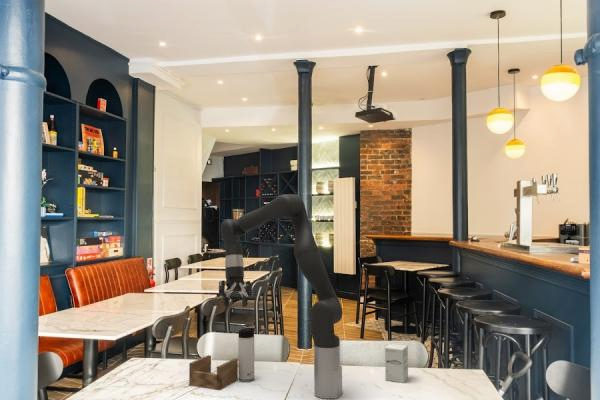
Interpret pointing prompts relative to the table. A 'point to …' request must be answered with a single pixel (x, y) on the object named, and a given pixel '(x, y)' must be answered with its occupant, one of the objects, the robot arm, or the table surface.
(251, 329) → the travel mug
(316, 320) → the robot arm
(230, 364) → the cradle
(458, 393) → the table surface
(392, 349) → the supplement box
